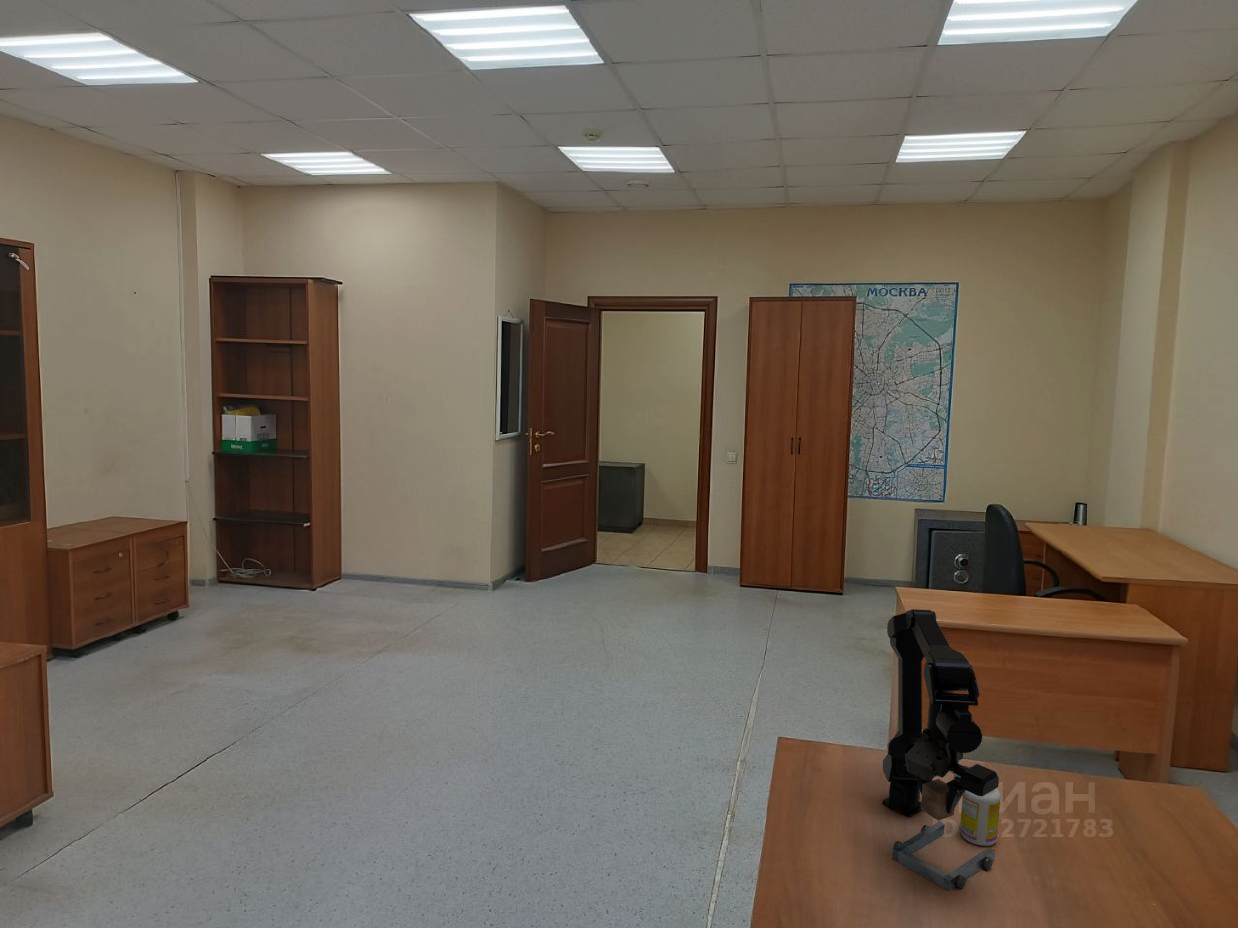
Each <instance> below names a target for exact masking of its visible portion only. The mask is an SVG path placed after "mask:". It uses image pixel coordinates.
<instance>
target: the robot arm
mask: <svg viewBox="0 0 1238 928" xmlns="http://www.w3.org/2000/svg"><path fill="white" fill-rule="evenodd" d="M886 627H887V628H886V629H887V630H886V632H887V636H888V638H889V643H890V645H889V646H890V647H891V648H892V650H893V651H894V654H895V655H896V657H897V664H898V665H897V667H898V668H897V671H898V672H897V674H898V675H897V677H898V679H897V680H898V682H897V683H898V684H897V685H898V686H897V688H898V693H897V696H898V697H897V699H898V701H897V702H898V703H897V704H898V706H897V708H898V709H897V710H898V711H897V713H898V715H897V719H898V721H897V723H898V724H897V725H898V728H897V729H898V730H897V732H896V733H895V735H894V736H893V738H891V739H890V740H889V742H888V743H887V754H886V755H885V757H884V758H883V760H882V771H883V774H884V776H885V779H886V780H887V782H888V783H889V790H888V797H886V798H885V799H882V802H881V804H882V805H884V806H887V807H888V808H890V809H892V810H894V811H895V812H898V813H900V814H901V815H903V816H905V817H909V818H910V817H912V816H914V815H915V814H917V813H919V812H920V811H922V810H921V796H922V787H923V783H926V782H930V781H933V779H934V778H935V777H940V778H942V779H943V778H944V777H945V776H946V775H947V774H948V773H951V774H953V779H951V780H949V781H948V782H945V783H946V784H947V786H948V788H949V794H948V802H947V813H948V814H950V813H952V812H953V810H954V809H956V807H957V805H958V803H959V802H960V801H961V800H962V796H963V794H964V792H965V791H968V792H971V793H973V794H975V795H977V796H984V795H986V794H988V793H989V792H991V791H993V790H994V789H998V788H999V785H1000V784H999V783H1000V782H999V781H1000V777H999V775H998V773H997V772H996V771H995V770H993V769H990V768H988V767H986V766H984V765H981V764H979V763H976V764H974V765H972V766H969V765H962V764H960V763H959V762H960V761H962V760H963V758H964V754H969V753H971V752H975V750H977V749H978V748H979V747H980V745H981V744H982V741H983V734H982V729H981V728H980V726H979V725H978V724H977V723H976V721H975V720H974V719H973V717H972V716H973V715H972V713H971V712H970V710H969V708H970V707H969V706H973V707H975V706H976V707H978V706H979V702H978V700H979V699H978V698H979V697H980V695H981V694H980V691H979V685H978V682H977V676H976V673H975V670H974V667H973V666H972V665H971V664H970V662H969V660H968V659H967V658H966V657H965V655H964V654H963V653H962V652H960V651H959V650H955V649H954V648H952V647H951V645H950V644H949V642H948V640H947V638H946V636H945V635H944V632H943V631H942V629H941V627H940V625H939V622H938V621H937V615H936V612H935V611H934V610H933V611H932V610H931V609H920V608H919V609H917V608H916V609H914V608H913V609H912V608H911V609H910V610H909V609H908V610H907V611H906V612H903V613H900V614H897V615H893V616H891V618H890V619H889V620H888V622H887V625H886ZM924 659H925V663H924V666H923V671H922V665H923V663H922V662H923V660H924ZM922 672H923V673H922ZM923 677H924V682H925V686H926V691H927V695H928V712H927V720H926V728H923V692H922V691H923ZM958 692H968V693H958ZM954 811H955V810H954Z"/></svg>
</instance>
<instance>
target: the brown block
mask: <svg viewBox="0 0 1238 928" xmlns="http://www.w3.org/2000/svg"><path fill="white" fill-rule="evenodd" d="M946 783H947V782H945V781H943V780H941V779H940V778H937V779H934V780H933V779H932V781H930V782H926V783H923V787H922V795H921V798H920V802H921V811H923V812H924V813H926V814H927V815H929V816H930V817H931V818H933V819H935V820H937V821H941V820H944V819H947V818H951V817H954V816H955V809H956V808H955V809H954V810H953V812H952V813H950V814H948V813H947V802H948V794H949V788H948V786H947V784H946Z"/></svg>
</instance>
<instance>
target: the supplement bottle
mask: <svg viewBox="0 0 1238 928" xmlns="http://www.w3.org/2000/svg"><path fill="white" fill-rule="evenodd" d="M1000 809H1001V793H1000V791H999V789H998V788H996V789H994V790H993V791H991V792H989V793H988V794H986V795H984V796H977V795H975V794H973V793H971V792H968V791H965V792H964V794H963V795H962V797H961V812H960V822H959V823H960V824H959V825H960V826H959V833H960V835H961V836H962V837H963V839H964V840H966V841H968V842H969V843H971V844H973V845H977V846H983V847H986V846H988V847H990V846H992V845H994V844H996V842H997V840H998V833H999V821H1000Z"/></svg>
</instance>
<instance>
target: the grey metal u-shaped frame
mask: <svg viewBox="0 0 1238 928" xmlns="http://www.w3.org/2000/svg"><path fill="white" fill-rule="evenodd" d="M945 824H946V823H943V822H941V821H938V822H936V823H934V824H933V825H931V826H929V825H926V824H924V825H922V827H921V829H920V832H919V833H917V834H915V835H913V836H912V837H910V838H909V839H907V840H905V841H903V842H901V841H899V840H896V841H895V842H894V844H893V847H892V857H891V858H892V859H893V860H894V861H896V862H897V863H899V864H901V865H903V866H905V867H906V868H909V869H910V870H912V871H913V872H915V873H917V874H918V875H920V876H922V877H924V878H926V879H927V880H929V881H931V882H932V883H934V884H935V885H938V886H940V887H942V888H943V889H945V890H947V891H949V892H950V891H951V890H953V889H954V888H956V887H957V888H959V889H960V890H962V889H964V887H965V886H966V884H967V879H969V878H971V877H973V875H974V874H976V873H977V872H979V871H981V870H982V869H983V868H984V869H985V870H987V871H990V870H991V869H992V867H993V864H994V861H995V860H996V859H995V858H996V849H995V848H992V847H991V846H988V847H986V848H985V849H984V850H982V851H981V852H979V853H978V854H976V855H975V856H973V857H971V858H970V859H968V860H967V861H966V862H964V863H963V864H961V865H959V866H958V867H956V868H955V869H954V870H952V871H951V872H949V873H948V874H947V873H946V872H944V871H942V870H941V869H938V868H937V867H935V866H934V865H931V864H930V863H927V862H926V861H925V860H922V859H920V858H919V857H917V856H916V855H913V853H915V852H916V851H919V850H920V849H922V848H923V847H925V846H927V845H929V844H930V843H931V842H933V841H935V840H936V839H939V838H940V837H941V836H943V835H944V834H945V827H946V825H945Z"/></svg>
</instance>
